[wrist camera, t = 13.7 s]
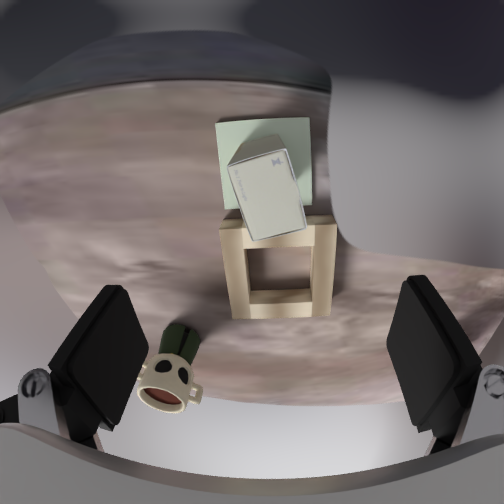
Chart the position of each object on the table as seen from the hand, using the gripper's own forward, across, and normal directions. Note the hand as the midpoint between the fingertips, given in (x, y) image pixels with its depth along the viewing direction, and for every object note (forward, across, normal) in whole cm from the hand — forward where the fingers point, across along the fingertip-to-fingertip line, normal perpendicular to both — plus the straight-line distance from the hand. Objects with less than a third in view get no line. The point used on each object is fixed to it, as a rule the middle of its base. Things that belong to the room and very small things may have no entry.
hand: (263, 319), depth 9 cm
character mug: (+25, +15, +25) cm, 38 cm away
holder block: (+24, -1, +12) cm, 27 cm away
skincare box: (+24, 0, -1) cm, 24 cm away
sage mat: (+24, 0, -1) cm, 24 cm away
